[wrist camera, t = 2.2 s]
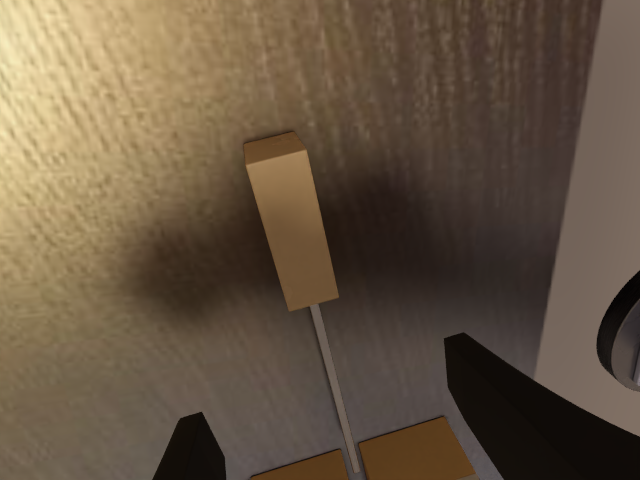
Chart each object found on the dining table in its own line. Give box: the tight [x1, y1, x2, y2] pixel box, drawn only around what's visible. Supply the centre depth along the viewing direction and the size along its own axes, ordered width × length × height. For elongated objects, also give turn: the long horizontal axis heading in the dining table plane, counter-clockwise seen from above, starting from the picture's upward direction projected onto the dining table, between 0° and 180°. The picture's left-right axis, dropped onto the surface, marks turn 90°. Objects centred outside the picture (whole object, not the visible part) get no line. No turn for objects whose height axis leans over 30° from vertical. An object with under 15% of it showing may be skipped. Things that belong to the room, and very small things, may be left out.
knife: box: [243, 132, 361, 473], centre depth 20 cm, size 18×2×3 cm, turn 12°
